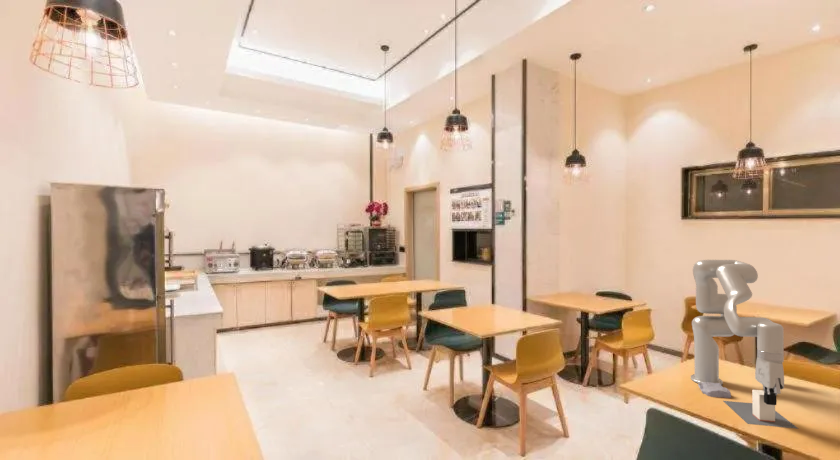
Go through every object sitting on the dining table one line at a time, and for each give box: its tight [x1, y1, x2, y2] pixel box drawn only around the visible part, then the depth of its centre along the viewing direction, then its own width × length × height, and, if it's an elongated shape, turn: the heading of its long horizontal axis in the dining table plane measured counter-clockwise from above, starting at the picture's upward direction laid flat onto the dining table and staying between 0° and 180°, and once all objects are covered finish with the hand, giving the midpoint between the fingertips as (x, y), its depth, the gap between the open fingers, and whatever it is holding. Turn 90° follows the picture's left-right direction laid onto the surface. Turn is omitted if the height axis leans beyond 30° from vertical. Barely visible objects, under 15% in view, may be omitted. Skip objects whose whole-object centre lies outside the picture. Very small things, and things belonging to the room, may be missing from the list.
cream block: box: [751, 389, 776, 422], centre depth 155 cm, size 5×5×10 cm
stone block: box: [697, 382, 732, 399], centre depth 179 cm, size 12×5×10 cm
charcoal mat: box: [722, 400, 799, 430], centre depth 159 cm, size 20×16×1 cm
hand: (770, 403), depth 150 cm, fingers closed
